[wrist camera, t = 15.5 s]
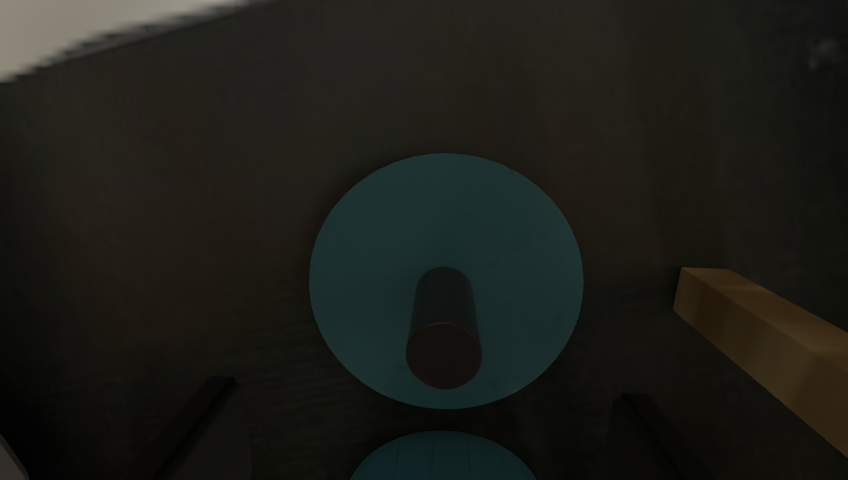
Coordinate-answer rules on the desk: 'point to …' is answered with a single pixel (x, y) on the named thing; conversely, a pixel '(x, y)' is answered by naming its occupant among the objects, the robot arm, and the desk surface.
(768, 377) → the stick
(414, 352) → the tin lid
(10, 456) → the robot toy
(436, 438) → the tin
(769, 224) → the desk surface
